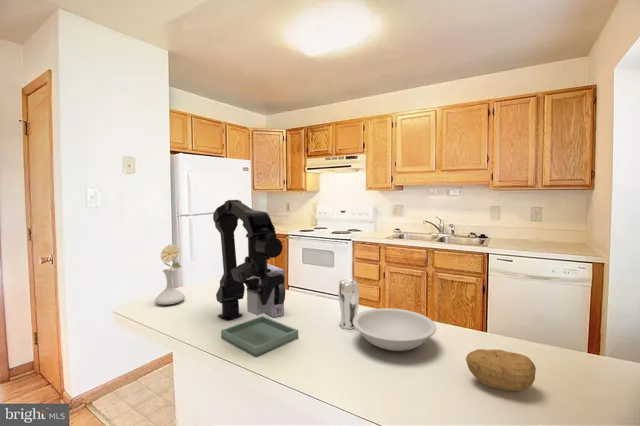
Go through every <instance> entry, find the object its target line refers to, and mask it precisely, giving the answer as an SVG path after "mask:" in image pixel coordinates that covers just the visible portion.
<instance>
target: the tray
mask: <svg viewBox="0 0 640 426" xmlns="http://www.w3.org/2000/svg"><path fill="white" fill-rule="evenodd" d="M220 335H221V337H220V338H221V339H223V340H224V341H225V342H227V343H229V344H231V345H233V346H235V347H237V348H238V349H240V350H241V351H244V352H245V353H247V354H249V355H251V356H253V357H254V358H258V357H260V356H263V355H264V354H267V353H269V352H271V351H273V350H275V349H277V348H279V347H282V346H284V345H287V344H288V343H291V342H293V341H296V340H297V339H299V329H296V328H295V327H292V326H289V325H286V324H284V323H281V322H280V321H276V320H273V319H271V318H269V317H266V316H263V315H261V316H259V317H255V318H253V319H249V320H247V321H244V322H241V323H239V324H235V325H233V326H229V327H227V328H223V329H221V330H220Z"/></svg>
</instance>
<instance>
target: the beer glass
mask: <svg viewBox="0 0 640 426" xmlns="http://www.w3.org/2000/svg"><path fill="white" fill-rule="evenodd" d="M338 302H339V307H340V313H341V315H340V323H339V327H341V328H342V329H345V330H354V329H356V328H355V327H354V326H353V318H354V317H355V316H356V315H357V314H358V308H359V303H360V287H359V281H358V280H356V279H341V280H340V281H338Z"/></svg>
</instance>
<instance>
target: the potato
mask: <svg viewBox="0 0 640 426" xmlns="http://www.w3.org/2000/svg"><path fill="white" fill-rule="evenodd" d="M465 361H466V364H467V369H468V371H469V372H470V373H471V374H472V375H473V377H474V378H476V380H477V381H478V382H479V383H482V384H483V385H484V386H488V387H491V388H494V389H497V390H501V391H507V392H511V391H512V392H520V391H524V390H527V389H529V388H530V387H531V386H533V384H534V382H535V379H536V370H537V368H536V365H535V363H534V362H533V360H531V359H530V358H529V357H528V356H526V355H525V354H523V353H522V354H521V353H517V352H516V353H515V352H512V351H506V350H502V349H493V348H492V349H480V348H479V349H478V348H477V349H475V350H473V351H469V353H467V355H466V357H465Z"/></svg>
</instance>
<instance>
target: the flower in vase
mask: <svg viewBox="0 0 640 426" xmlns="http://www.w3.org/2000/svg"><path fill="white" fill-rule="evenodd" d="M179 254H180V247H179V246H178V245H176V244H174V243H171V244H168V245H166V246H165V247H164V248H162V250H161V251H160V260H161V261H162V262H163V264H164V265H166V266H168V267H170V268H166V269H163V270H162V272H163V273H164V275H165V279H166V286H165V288H164V290H163V291H162V292H160V294H158V295H157V296H156V297H155V300H154V302H155V303H156V304H158V305H165V306H167V305H174V304H178V303H180V302H182V301H184V299H185V298H186V296H185V294H184V293H183V292H182V291H180V290H178V289H176V288H175V287H174V281H173V280H174V273H175V271H176V270H177V269H179V268H181V264H180V262H178V261H176V262H175V260H176V259H177V257H178V256H179ZM170 262H173V263H172V265H171V264H169V263H170Z"/></svg>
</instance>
